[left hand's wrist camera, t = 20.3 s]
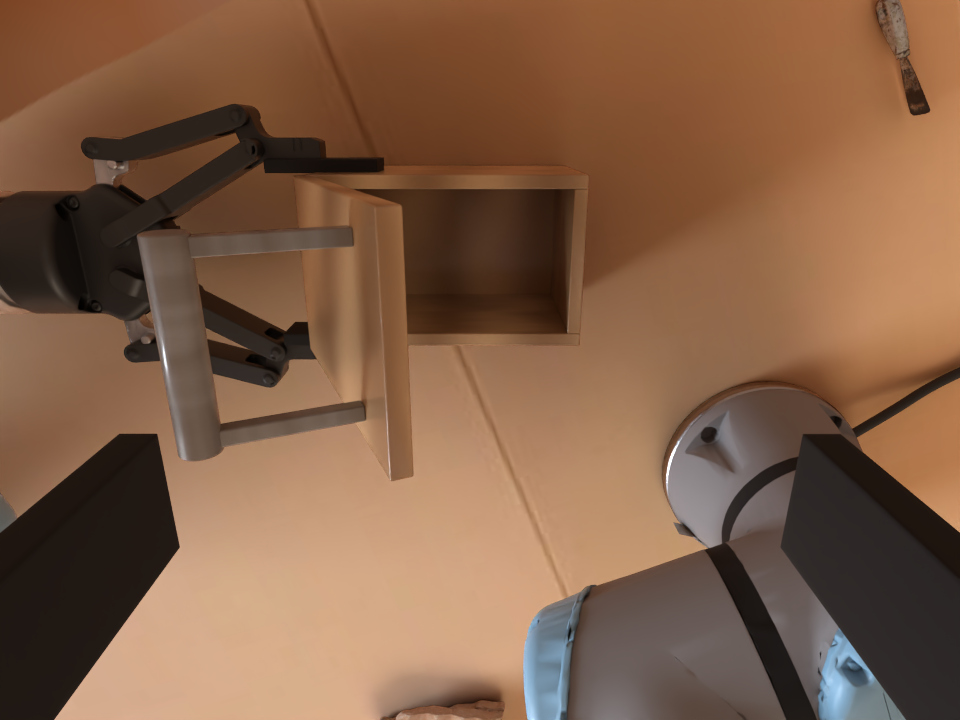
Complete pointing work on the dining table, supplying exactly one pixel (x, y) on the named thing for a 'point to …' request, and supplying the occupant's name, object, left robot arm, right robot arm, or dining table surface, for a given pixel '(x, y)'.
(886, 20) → the putty knife
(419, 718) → the stone
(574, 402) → the dining table surface
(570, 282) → the chest
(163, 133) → the right robot arm
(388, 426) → the lid
